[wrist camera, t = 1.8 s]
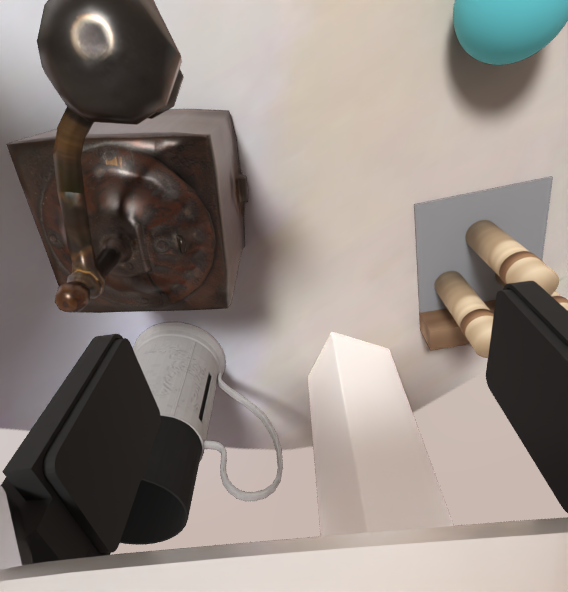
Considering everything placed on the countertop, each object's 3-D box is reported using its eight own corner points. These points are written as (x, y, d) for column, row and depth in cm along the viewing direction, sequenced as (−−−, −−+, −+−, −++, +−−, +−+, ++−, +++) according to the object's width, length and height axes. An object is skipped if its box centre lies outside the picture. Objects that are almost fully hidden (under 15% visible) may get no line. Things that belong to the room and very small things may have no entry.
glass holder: (127, 319, 36) (41, 465, 23) (285, 328, 37) (287, 475, 24) (138, 391, 41) (71, 547, 28) (279, 398, 41) (278, 554, 28)
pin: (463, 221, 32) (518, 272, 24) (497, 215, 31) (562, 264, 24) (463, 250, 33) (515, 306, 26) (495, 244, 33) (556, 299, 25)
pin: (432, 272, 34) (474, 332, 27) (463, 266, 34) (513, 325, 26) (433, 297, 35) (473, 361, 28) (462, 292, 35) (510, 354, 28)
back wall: (419, 311, 36) (429, 331, 33) (524, 293, 35) (544, 312, 32) (420, 329, 37) (430, 350, 34) (522, 312, 36) (541, 332, 33)
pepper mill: (254, 249, 33) (229, 422, 17) (118, 254, 33) (-26, 431, 17) (234, 17, 25) (156, -45, 9) (55, 25, 25) (-312, -22, 10)
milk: (361, 391, 41) (431, 683, 22) (306, 376, 40) (329, 670, 21) (390, 346, 38) (498, 639, 19) (330, 329, 37) (383, 622, 18)
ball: (437, -43, 23) (481, -70, 18) (546, -71, 23) (623, -108, 18) (439, 73, 26) (477, 78, 21) (535, 51, 26) (598, 50, 21)
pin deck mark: (414, 204, 31) (414, 205, 31) (551, 176, 30) (552, 177, 30) (419, 311, 36) (420, 312, 36) (536, 291, 35) (538, 292, 35)
